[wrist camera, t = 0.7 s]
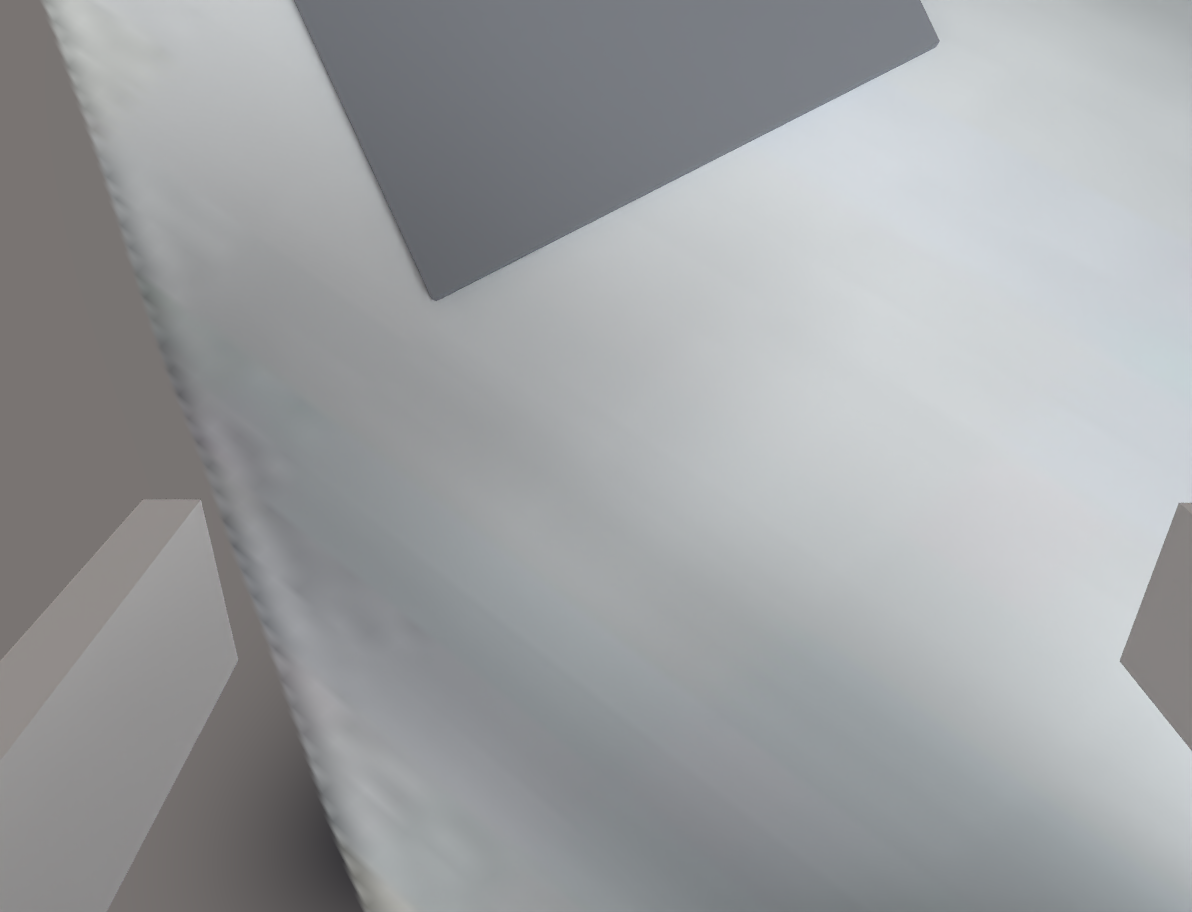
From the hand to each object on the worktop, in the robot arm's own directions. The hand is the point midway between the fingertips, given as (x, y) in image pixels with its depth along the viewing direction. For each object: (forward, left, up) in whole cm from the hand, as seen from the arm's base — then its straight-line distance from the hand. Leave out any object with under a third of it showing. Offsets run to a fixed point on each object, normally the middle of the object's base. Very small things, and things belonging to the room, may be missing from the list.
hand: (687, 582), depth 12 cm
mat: (+18, -4, -20) cm, 28 cm away
